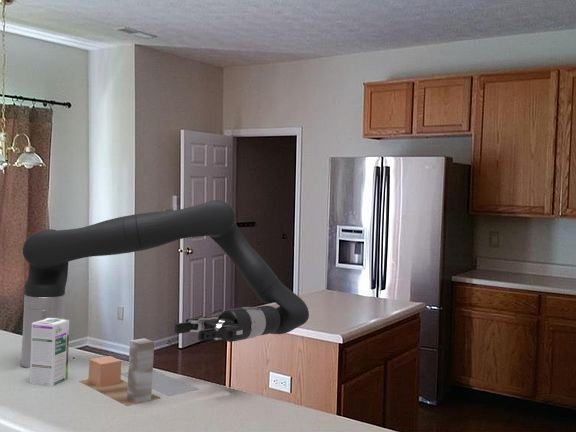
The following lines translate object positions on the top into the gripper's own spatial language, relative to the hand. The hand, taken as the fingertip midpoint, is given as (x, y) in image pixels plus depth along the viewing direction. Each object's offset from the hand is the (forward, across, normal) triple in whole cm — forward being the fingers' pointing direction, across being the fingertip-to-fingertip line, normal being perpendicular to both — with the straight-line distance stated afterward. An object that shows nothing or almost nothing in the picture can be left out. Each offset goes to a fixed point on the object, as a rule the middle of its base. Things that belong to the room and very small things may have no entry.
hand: (187, 332), depth 129 cm
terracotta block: (+11, -14, +12) cm, 22 cm away
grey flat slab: (+2, -8, +14) cm, 16 cm away
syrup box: (+20, -22, +13) cm, 33 cm away
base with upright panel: (+11, -8, +13) cm, 19 cm away
